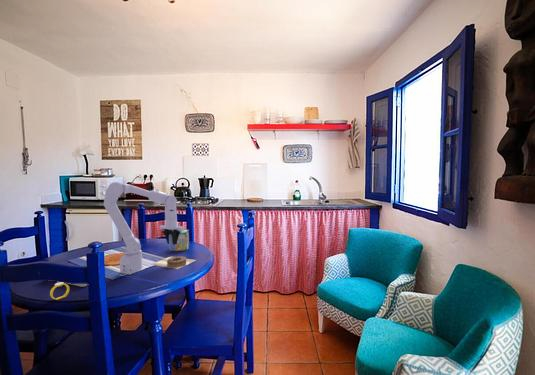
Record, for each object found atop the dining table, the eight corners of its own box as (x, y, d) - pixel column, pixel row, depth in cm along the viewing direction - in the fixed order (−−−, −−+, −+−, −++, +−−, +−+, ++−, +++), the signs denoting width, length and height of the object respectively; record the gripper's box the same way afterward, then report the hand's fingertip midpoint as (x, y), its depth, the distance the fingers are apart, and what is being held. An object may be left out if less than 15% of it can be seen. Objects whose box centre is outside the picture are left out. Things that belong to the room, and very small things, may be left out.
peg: (172, 251, 138) (172, 235, 138) (168, 250, 139) (167, 235, 139) (177, 249, 141) (176, 234, 140) (172, 248, 142) (171, 233, 142)
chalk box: (174, 247, 170) (173, 224, 169) (189, 246, 171) (188, 223, 170) (171, 252, 161) (170, 227, 160) (186, 251, 162) (185, 226, 161)
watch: (53, 302, 101) (51, 287, 100) (50, 301, 102) (47, 286, 102) (71, 295, 106) (69, 280, 105) (67, 293, 108) (65, 279, 107)
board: (177, 270, 131) (177, 269, 131) (150, 265, 138) (150, 264, 138) (196, 261, 143) (196, 260, 143) (171, 257, 151) (171, 256, 151)
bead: (177, 268, 132) (177, 263, 132) (163, 265, 136) (163, 260, 136) (189, 262, 140) (189, 257, 140) (176, 260, 144) (176, 255, 144)
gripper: (187, 217, 140) (188, 243, 141) (166, 216, 146) (167, 240, 147) (177, 219, 133) (178, 246, 134) (156, 218, 139) (157, 244, 140)
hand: (172, 243), depth 140 cm, fingers closed on peg, 3 cm apart
